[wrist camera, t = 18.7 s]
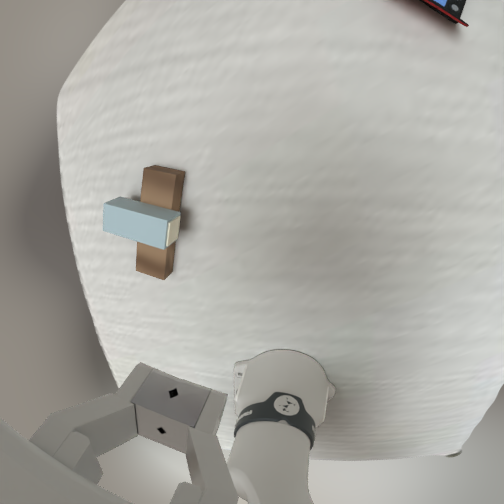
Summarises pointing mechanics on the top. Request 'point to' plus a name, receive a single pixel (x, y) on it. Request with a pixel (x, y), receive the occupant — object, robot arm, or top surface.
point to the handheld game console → (448, 9)
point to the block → (141, 222)
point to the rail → (166, 196)
